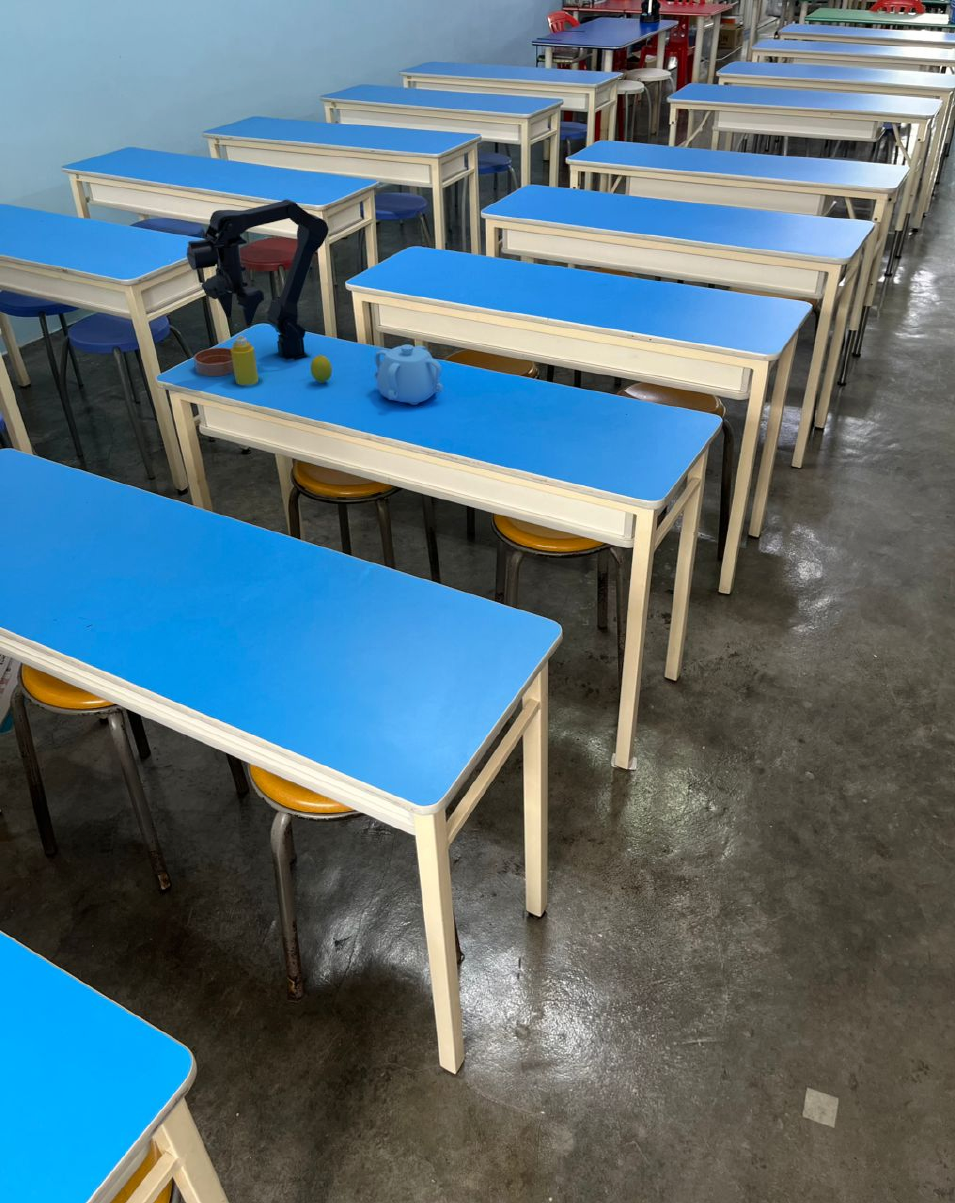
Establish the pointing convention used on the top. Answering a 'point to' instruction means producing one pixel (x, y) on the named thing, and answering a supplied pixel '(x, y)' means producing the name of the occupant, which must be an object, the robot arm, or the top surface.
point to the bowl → (214, 362)
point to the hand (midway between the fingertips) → (238, 321)
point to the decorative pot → (407, 374)
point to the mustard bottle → (244, 362)
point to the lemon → (321, 368)
